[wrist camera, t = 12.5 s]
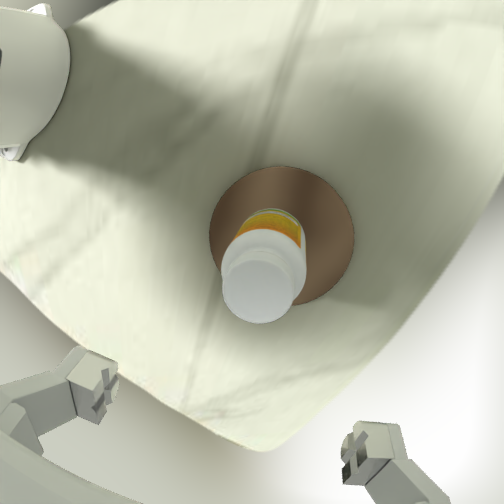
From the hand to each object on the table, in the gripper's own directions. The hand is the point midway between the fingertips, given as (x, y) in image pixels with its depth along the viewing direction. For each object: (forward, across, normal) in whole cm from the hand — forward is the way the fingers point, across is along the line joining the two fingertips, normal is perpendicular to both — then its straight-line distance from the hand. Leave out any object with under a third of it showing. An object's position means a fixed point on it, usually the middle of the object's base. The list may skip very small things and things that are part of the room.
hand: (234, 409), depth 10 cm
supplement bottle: (+18, 0, 0) cm, 19 cm away
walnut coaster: (+19, -1, 0) cm, 19 cm away
